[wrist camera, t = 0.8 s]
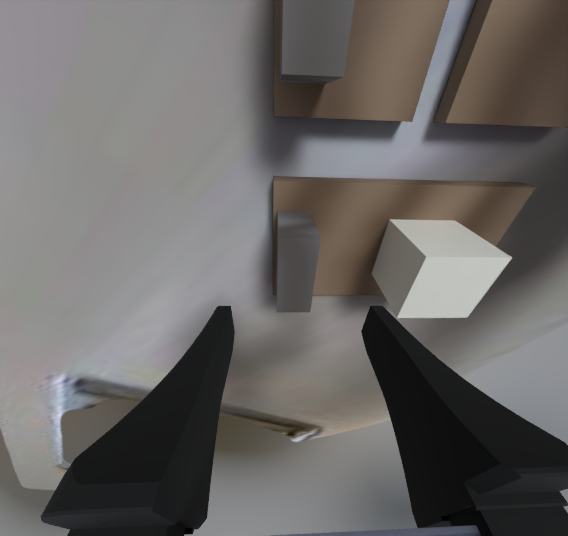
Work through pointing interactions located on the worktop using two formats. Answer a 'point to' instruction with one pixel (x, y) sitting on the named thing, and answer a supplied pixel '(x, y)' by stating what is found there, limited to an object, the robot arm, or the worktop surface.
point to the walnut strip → (368, 227)
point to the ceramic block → (435, 268)
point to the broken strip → (421, 61)
